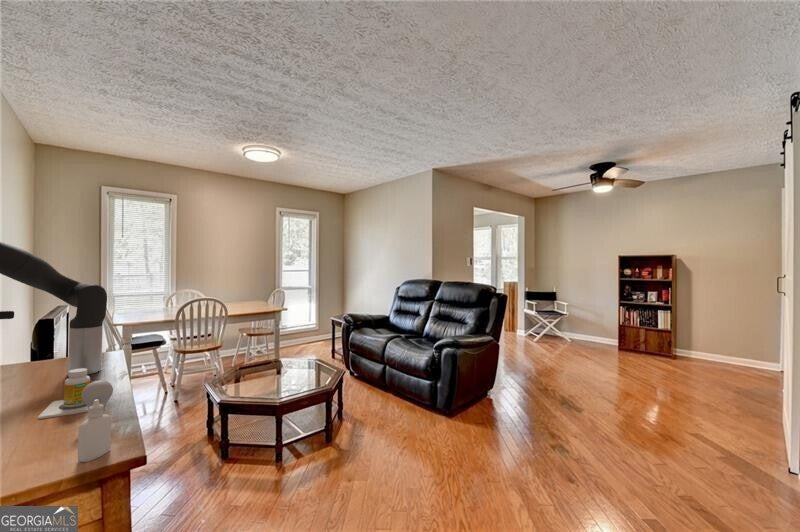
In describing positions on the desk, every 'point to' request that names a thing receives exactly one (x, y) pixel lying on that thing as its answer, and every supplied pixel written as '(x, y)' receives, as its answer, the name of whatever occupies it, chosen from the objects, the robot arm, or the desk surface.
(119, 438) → the desk surface
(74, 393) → the supplement bottle
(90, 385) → the lightbulb
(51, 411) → the plate
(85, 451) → the eye dropper bottle
